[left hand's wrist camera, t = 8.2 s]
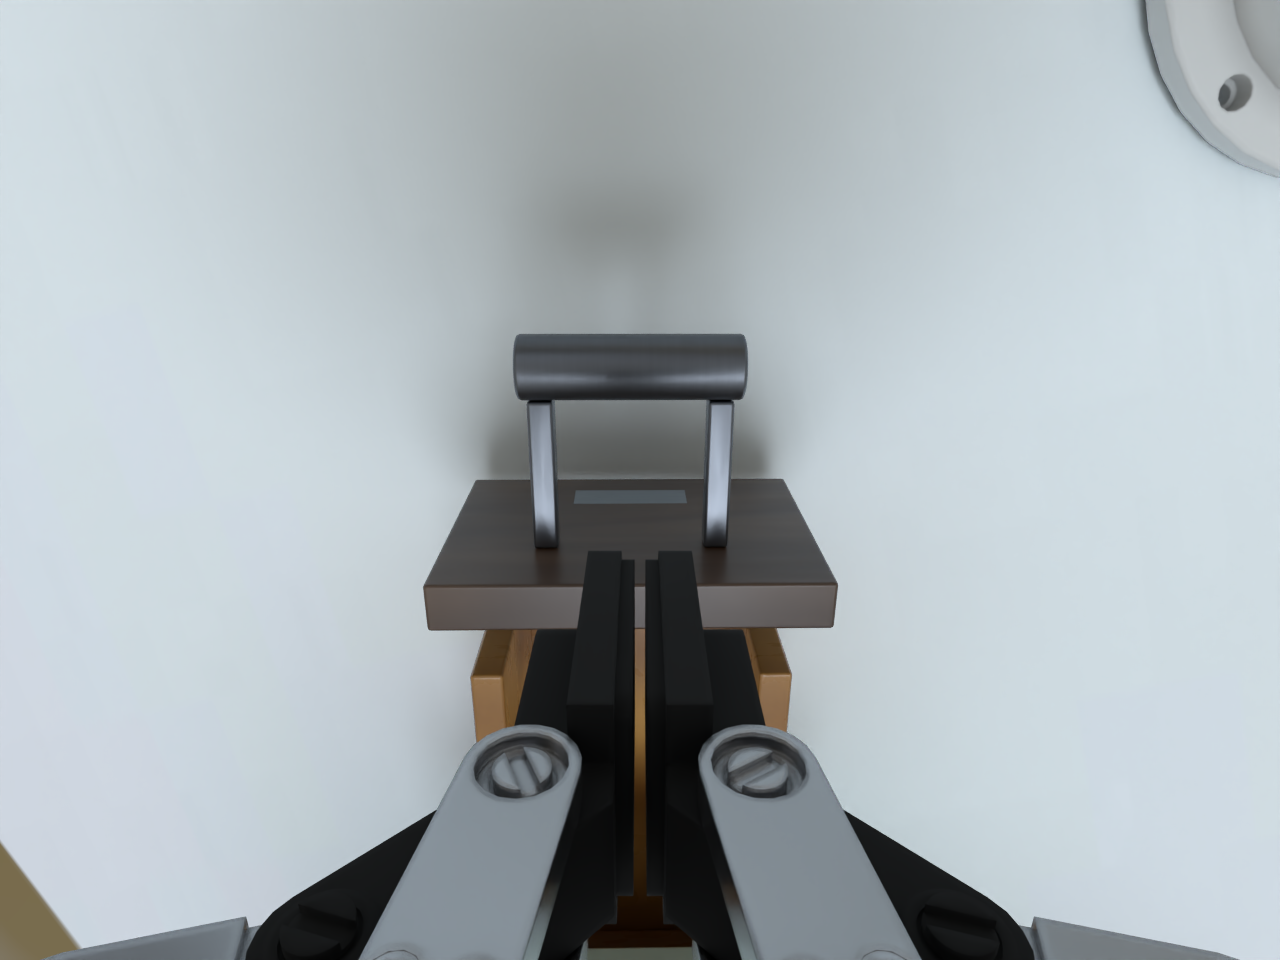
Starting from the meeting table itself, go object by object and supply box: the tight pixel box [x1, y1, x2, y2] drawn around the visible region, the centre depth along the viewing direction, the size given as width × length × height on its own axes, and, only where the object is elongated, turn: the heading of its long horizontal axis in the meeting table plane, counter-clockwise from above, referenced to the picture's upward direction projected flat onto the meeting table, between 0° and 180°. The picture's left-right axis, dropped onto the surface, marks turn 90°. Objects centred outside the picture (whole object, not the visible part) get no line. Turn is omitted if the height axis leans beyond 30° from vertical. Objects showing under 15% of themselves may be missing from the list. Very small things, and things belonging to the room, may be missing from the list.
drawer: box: [423, 334, 838, 948], centre depth 23 cm, size 24×9×7 cm, turn 0°
